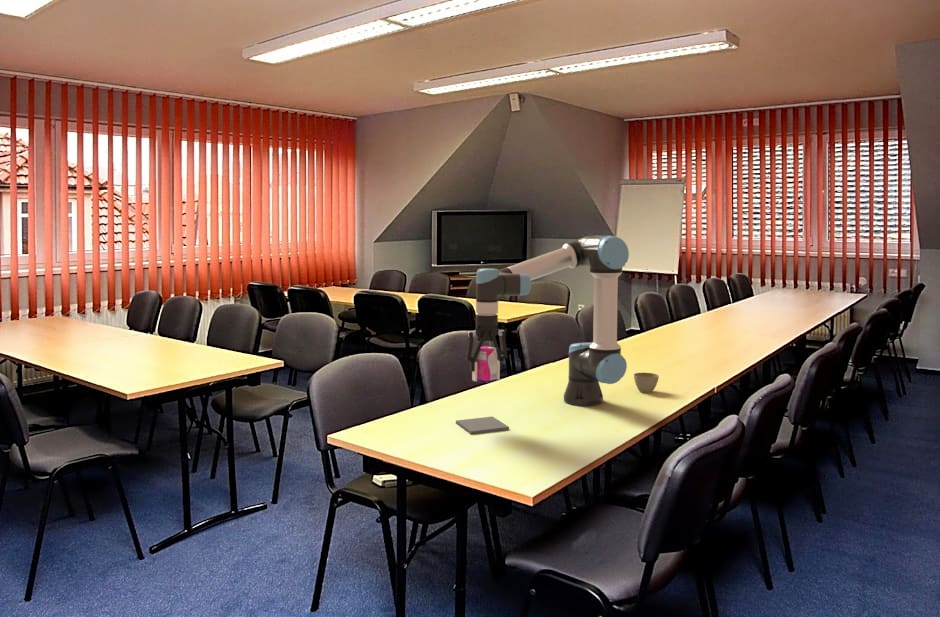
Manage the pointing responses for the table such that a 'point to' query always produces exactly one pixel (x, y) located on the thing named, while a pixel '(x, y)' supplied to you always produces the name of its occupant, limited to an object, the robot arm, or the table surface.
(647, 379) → the flower pot
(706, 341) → the table surface
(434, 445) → the table surface
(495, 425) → the gray mat
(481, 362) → the supplement box
